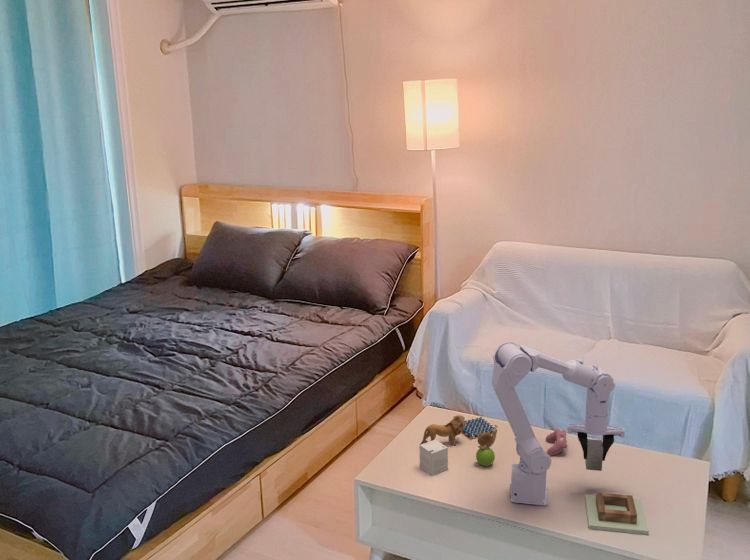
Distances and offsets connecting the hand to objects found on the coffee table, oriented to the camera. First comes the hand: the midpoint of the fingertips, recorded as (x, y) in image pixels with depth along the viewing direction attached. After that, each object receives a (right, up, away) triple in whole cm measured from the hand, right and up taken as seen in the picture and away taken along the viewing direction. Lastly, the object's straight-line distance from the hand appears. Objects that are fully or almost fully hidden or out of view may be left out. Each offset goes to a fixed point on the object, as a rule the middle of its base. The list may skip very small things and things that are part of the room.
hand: (593, 458), depth 190 cm
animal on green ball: (-26, -6, +17) cm, 32 cm away
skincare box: (-42, -7, +15) cm, 45 cm away
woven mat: (-27, -1, +37) cm, 46 cm away
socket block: (+2, -12, -10) cm, 16 cm away
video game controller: (-4, -4, +24) cm, 25 cm away
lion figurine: (-38, -3, +29) cm, 48 cm away
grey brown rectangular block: (0, -2, +1) cm, 2 cm away
